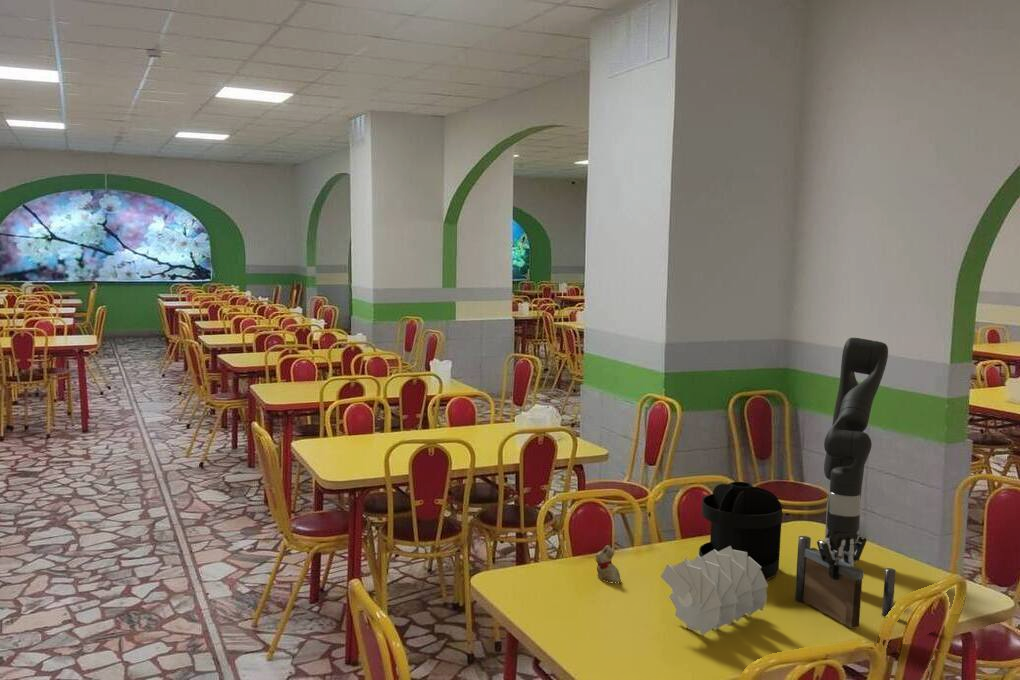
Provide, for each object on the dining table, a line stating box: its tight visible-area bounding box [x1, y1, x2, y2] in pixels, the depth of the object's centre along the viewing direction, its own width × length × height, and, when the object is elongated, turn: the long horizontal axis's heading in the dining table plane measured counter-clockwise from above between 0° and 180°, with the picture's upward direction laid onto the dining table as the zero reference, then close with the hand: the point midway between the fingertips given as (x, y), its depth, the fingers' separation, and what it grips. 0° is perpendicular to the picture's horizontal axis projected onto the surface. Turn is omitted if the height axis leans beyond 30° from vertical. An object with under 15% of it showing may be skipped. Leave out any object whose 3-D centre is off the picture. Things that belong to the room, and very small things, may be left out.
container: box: [698, 481, 783, 581], centre depth 245 cm, size 22×23×25 cm
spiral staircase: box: [660, 546, 769, 636], centre depth 208 cm, size 18×18×25 cm
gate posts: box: [794, 535, 897, 618], centre depth 219 cm, size 3×24×17 cm, turn 66°
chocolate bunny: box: [595, 544, 622, 584], centre depth 235 cm, size 6×8×10 cm
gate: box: [803, 547, 865, 629], centre depth 214 cm, size 3×17×14 cm, turn 22°
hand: (839, 577), depth 211 cm, fingers closed on gate, 3 cm apart
